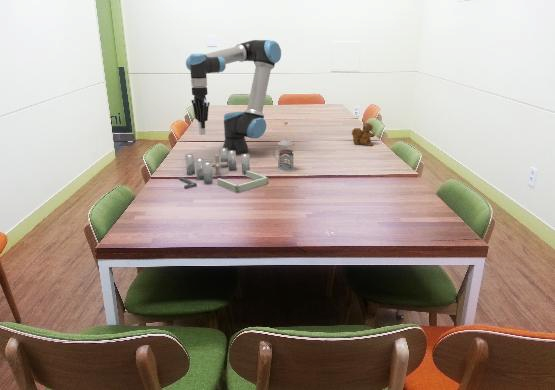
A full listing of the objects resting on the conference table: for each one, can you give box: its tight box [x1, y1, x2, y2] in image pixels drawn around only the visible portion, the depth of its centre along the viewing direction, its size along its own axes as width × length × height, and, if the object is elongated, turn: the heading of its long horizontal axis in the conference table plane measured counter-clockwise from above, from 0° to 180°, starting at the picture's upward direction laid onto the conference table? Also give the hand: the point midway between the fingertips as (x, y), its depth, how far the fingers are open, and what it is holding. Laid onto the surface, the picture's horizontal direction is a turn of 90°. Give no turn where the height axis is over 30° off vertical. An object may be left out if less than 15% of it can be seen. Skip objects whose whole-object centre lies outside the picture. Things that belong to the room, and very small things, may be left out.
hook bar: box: [178, 176, 198, 190], centre depth 213 cm, size 14×6×1 cm, turn 41°
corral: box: [216, 170, 269, 194], centre depth 212 cm, size 19×15×3 cm
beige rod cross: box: [211, 154, 227, 176], centre depth 225 cm, size 10×10×10 cm
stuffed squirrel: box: [351, 122, 376, 147], centre depth 279 cm, size 10×14×13 cm
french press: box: [272, 121, 296, 173], centre depth 229 cm, size 10×12×25 cm
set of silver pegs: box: [184, 147, 251, 185], centre depth 226 cm, size 26×23×10 cm
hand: (202, 134), depth 228 cm, fingers closed
